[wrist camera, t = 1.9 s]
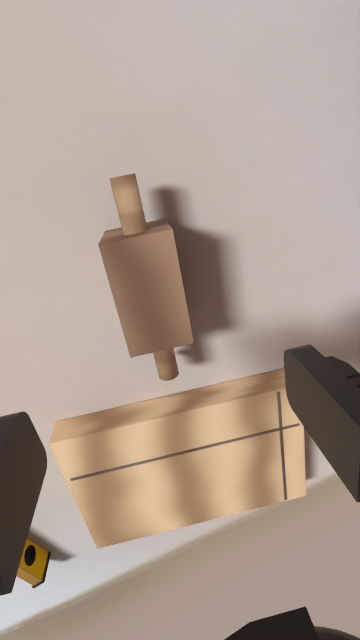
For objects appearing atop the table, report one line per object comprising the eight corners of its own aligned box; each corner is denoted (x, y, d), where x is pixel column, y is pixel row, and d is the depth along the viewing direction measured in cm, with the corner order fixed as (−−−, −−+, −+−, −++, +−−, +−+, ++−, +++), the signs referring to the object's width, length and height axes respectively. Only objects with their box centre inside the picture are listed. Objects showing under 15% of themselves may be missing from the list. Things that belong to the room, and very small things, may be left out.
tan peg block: (154, 170, 21) (161, 167, 16) (189, 347, 26) (201, 382, 22) (92, 182, 21) (81, 183, 16) (140, 358, 26) (141, 396, 21)
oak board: (288, 367, 28) (302, 384, 26) (294, 474, 33) (306, 496, 31) (55, 421, 27) (48, 444, 25) (99, 522, 32) (97, 549, 30)
